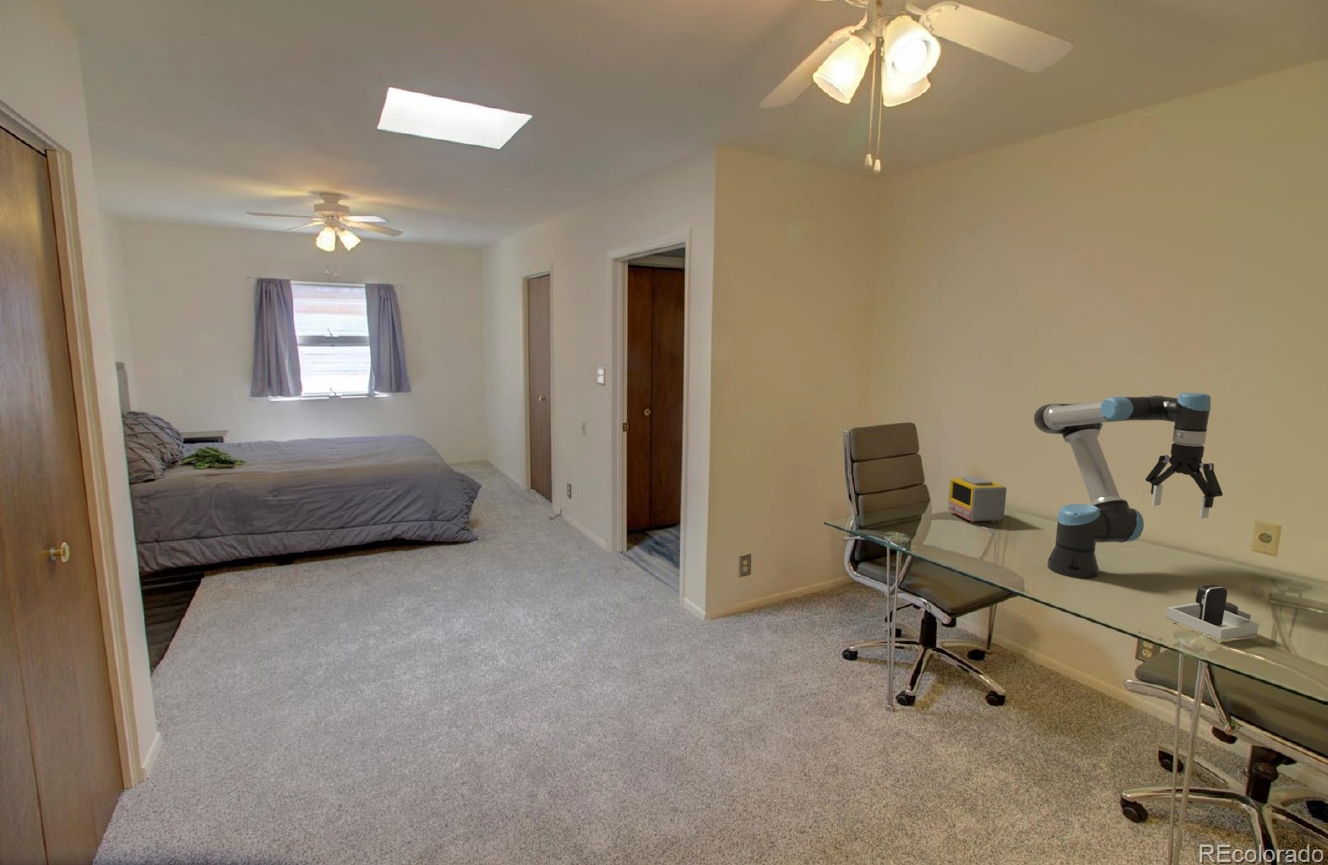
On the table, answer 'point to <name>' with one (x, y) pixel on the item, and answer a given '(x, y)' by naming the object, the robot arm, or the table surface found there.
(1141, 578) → the table surface
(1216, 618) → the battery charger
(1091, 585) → the table surface
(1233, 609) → the speaker
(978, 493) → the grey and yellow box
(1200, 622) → the tray
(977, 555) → the table surface
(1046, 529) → the table surface
